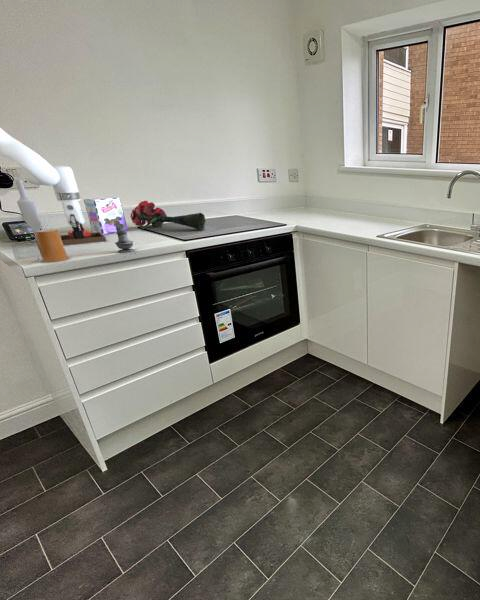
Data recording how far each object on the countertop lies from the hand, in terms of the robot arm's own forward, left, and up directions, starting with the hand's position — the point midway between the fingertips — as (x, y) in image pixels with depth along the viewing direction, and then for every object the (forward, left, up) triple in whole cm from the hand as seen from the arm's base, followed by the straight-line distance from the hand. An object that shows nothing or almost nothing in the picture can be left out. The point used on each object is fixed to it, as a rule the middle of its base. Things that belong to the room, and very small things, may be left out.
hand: (80, 238), depth 154 cm
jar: (-11, -33, -1) cm, 35 cm away
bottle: (-13, +11, -1) cm, 17 cm away
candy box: (+13, +16, -1) cm, 21 cm away
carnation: (+38, +10, -1) cm, 39 cm away
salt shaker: (+10, -33, -1) cm, 35 cm away
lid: (0, 0, +3) cm, 3 cm away
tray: (0, 0, -1) cm, 1 cm away
